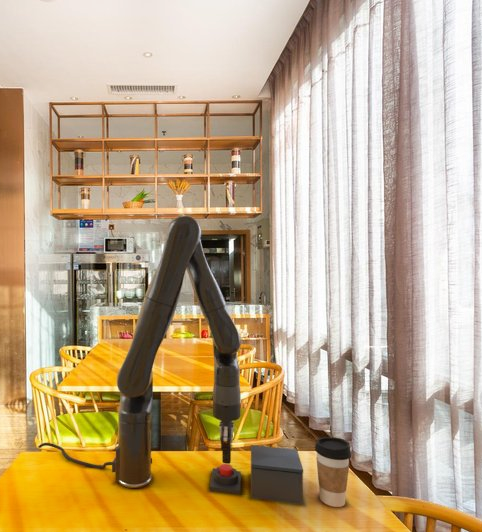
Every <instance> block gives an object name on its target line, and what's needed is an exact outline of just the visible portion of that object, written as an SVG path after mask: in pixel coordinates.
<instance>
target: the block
mask: <svg viewBox="0 0 482 532" xmlns="http://www.w3.org/2000/svg"><path fill="white" fill-rule="evenodd" d="M219 467H220V466H217V467H216V468H215V467H213V468H212V471H211V477H210V482H209V492H214V493H222V494H223V493H224V494H231V495H238V496H241V490H242V489H241V487H242V471H241V470H236V469H235V468H234V467H233V474H232V476H223V475H220V473H219Z"/></svg>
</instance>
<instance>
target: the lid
mask: <svg viewBox="0 0 482 532" xmlns="http://www.w3.org/2000/svg"><path fill="white" fill-rule="evenodd" d="M251 467H254V468H262V469H271V470H280V471H289V472H298V473H303V474H304V468H303V464H302V461H301V458H300V455H299V451H298V449H295V448H284V447H275V446H274V447H273V446H264V445H255V444H251V445H250V468H251Z"/></svg>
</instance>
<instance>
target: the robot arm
mask: <svg viewBox="0 0 482 532" xmlns="http://www.w3.org/2000/svg"><path fill="white" fill-rule="evenodd" d="M201 237H202V229H201V225H200V224H199V222H198V220H196V219H195V218H194V217H192V216H190V215H179V216H177V217H175V218H174V219H172V220H171V221H170V223H169V225H168V226H167V229H166V235H165V240H164V245H163V249H162V252H161V257H160V260H159V263H158V265H157V268H156V269H155V271H154V274H153V275H152V278H151V280H150V283H149V284H148V287H147V289H146V292H145V295H144V296H143V297H144V298H143V300H142V303H141V305H140V310H139V312H138V313H139V314H138V316H137V319H136V323H135V326H134V327H135V328H134V332H133V336H132V340H131V344H130V346H129V349H128V351H127V353H126V355H125V358H124V360H123V363H122V364H121V366H120V368H119V370H118V371H117V375H116V386H117V389H118V391H119V393H120V399H119V405H118V410H117V411H118V413H117V419H118V420H117V427H118V428H117V445H116V447H115V457H114V459H113V460H112V461H105V462H104V463H103V464H95V463H94V464H93V463H89V462H86V461H83V460H80V459H79V460H78V459H76V458H73V457H71V456H70V455H68V454H67V453H66V451H65V449H64V448H63V447H61V446H60V445H57V444H55V443H52V442H41V444H39V445H38V446H37V448H38V449H40V448H42V447H45V446H46V447H48V446H49V447H52V448H55V449H57V450H59V451H60V452H61V453H62V455H63V457H64V458H65V459H67V460H68V461H70V462H72V463H75V464H78V465H81V466H85V467H88V468H94V469H100V470H101V469H105V468H106V467H107V466H111V473H115V483H116V484H118V485H120V486H122V487H125V488H128V489H138V488H139V489H140V488H143V487H146V486H147V485H149V484H150V483H151V482H152V464H153V457H152V413H153V412H152V410H153V401H154V400H153V399H154V398H153V395H154V373H153V372H154V371H153V368H154V363H155V360H156V356H157V354H158V351H159V349H160V347H161V345H162V344H163V343H162V342H163V341H164V339H165V337H166V335H167V333H168V330H169V328H170V326H171V324H172V321H173V318H174V315H175V313H176V311H177V307H178V304H179V301H180V297H181V292H182V288H183V284H184V278H185V275H186V272H187V275H188V278H189V281H190V283H191V287H192V290H193V293H194V296H195V299H196V301H197V304H198V306H199V309H200V312H201V313H202V316H203V318H204V320H205V321H206V323H207V325H208V327H209V330H210V334H211V336H212V351H213V353H212V354H213V364H214V365H213V386H212V387H213V388H212V416H213V418H215V419H216V420H219V424H218V433H219V442H220V449H221V452H222V455H221V456H222V458H221V459H222V464H228V465H231V462H232V446H233V441H234V431H235V421H237V420H239V419H240V418H241V411H242V409H241V406H242V405H241V399H242V398H241V395H242V394H241V383H240V381H241V378H240V377H241V376H240V364H239V362H238V352H239V350H240V349H241V347H242V338H241V335H240V333H239V330H238V328H237V326H236V324H235V322H234V319H233V318H232V316H231V315H230V311H229V309H228V305H227V303H226V300H225V298H224V295H223V293H222V290H221V287H220V286H219V283H218V282H217V280H216V278H215V276H214V274H213V272H212V270H211V268H210V265H209V264H208V261H207V258H206V256H205V253H204V249H203V245H202V244H203V243H202V240H201Z"/></svg>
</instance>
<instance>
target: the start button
mask: <svg viewBox="0 0 482 532" xmlns="http://www.w3.org/2000/svg"><path fill="white" fill-rule="evenodd" d="M218 467H219V473H220V475H223V476H232V474H233V468H234V467H233V466H232V465H231V464H226V463H222V464H220V465H219V466H218Z"/></svg>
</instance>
